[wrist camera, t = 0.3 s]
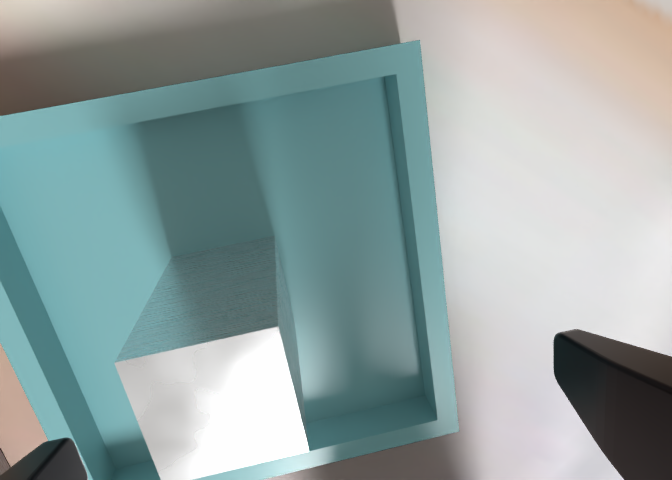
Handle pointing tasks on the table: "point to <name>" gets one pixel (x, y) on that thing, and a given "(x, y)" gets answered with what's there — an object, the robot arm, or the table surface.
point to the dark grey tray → (3, 464)
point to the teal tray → (226, 229)
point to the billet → (217, 364)
